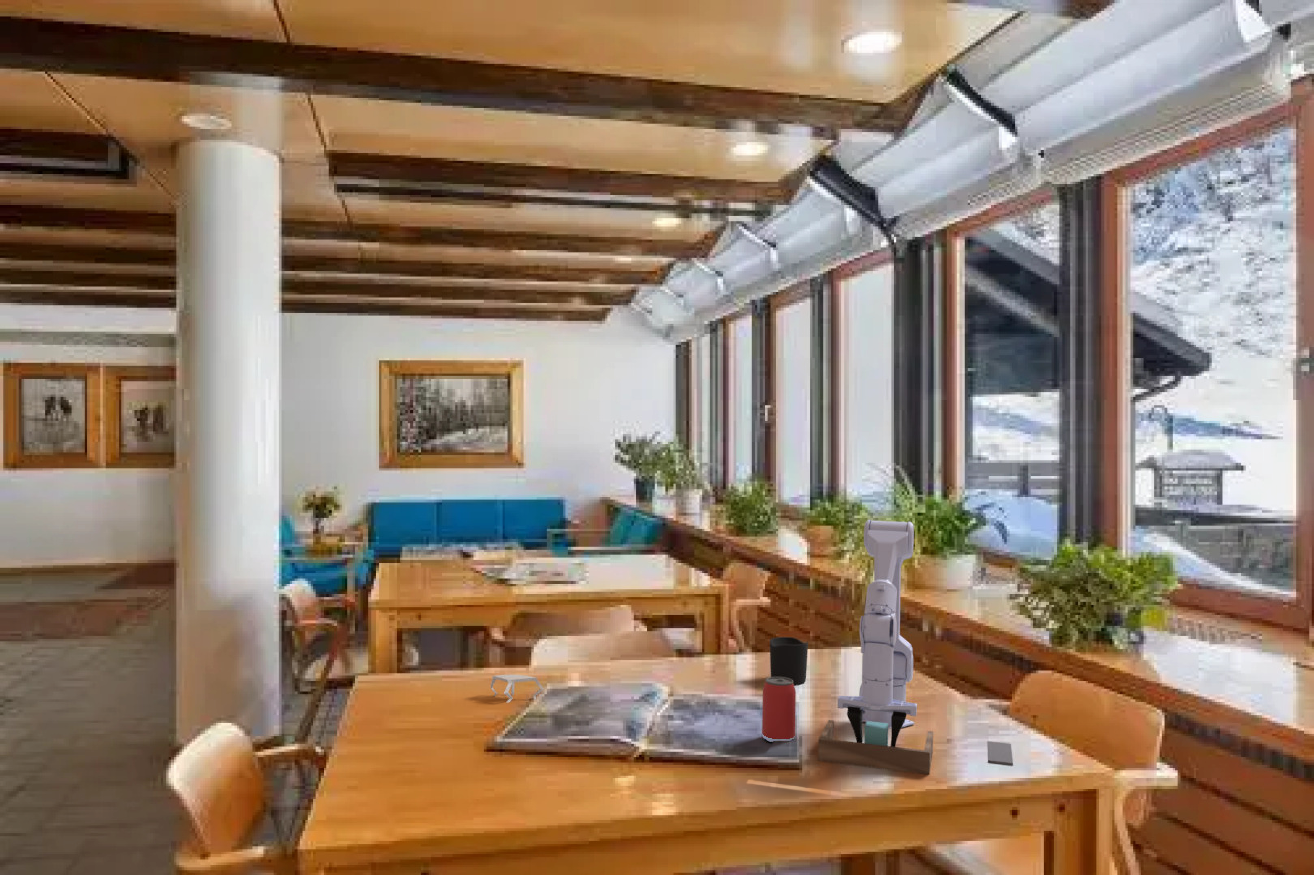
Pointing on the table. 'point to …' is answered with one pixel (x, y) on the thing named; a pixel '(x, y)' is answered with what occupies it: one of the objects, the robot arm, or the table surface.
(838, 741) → the walnut box
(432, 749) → the table surface
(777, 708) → the beer can
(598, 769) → the table surface
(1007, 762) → the charcoal mat
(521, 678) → the grey legged piece
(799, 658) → the pen holder
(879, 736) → the teal block
